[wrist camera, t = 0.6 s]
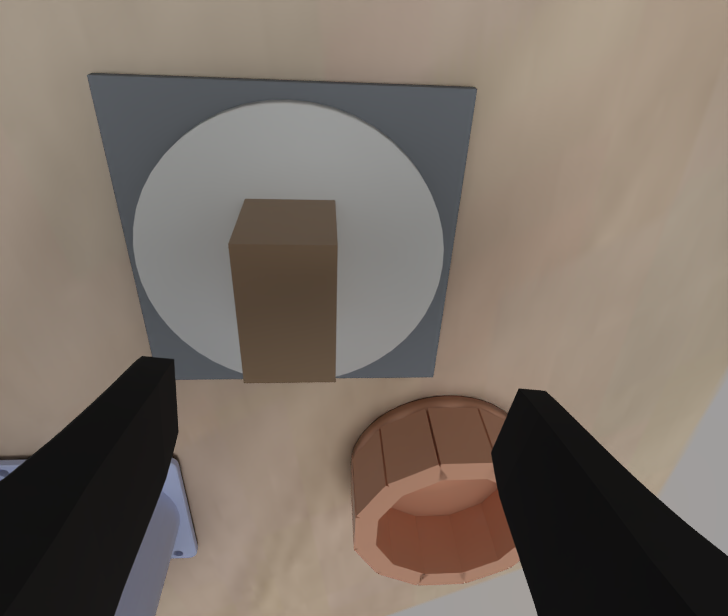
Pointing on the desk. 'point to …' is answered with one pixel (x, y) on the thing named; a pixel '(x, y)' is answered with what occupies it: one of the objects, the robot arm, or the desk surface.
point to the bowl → (431, 493)
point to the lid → (288, 241)
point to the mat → (213, 95)
